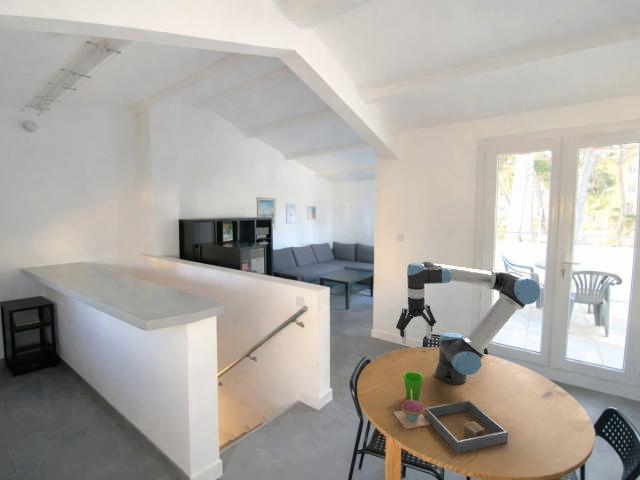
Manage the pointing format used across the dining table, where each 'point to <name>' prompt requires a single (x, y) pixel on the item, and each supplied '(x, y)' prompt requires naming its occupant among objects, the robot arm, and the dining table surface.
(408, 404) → the cupcake
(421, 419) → the plate
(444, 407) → the corral
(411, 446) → the dining table surface
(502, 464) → the dining table surface
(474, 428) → the tan cube
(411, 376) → the cup
